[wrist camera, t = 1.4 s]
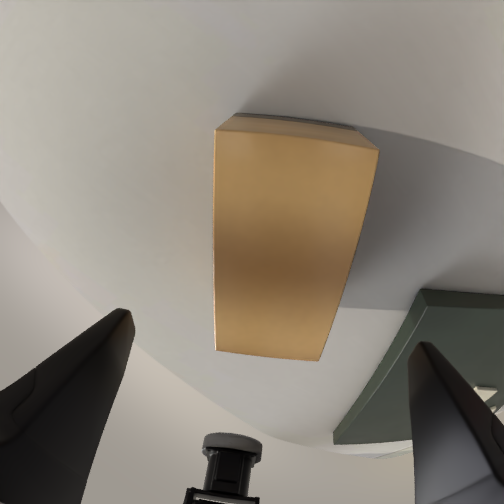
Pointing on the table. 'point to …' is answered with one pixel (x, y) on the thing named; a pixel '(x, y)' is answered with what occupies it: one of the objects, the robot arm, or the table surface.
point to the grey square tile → (485, 392)
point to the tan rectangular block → (285, 230)
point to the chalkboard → (448, 343)
